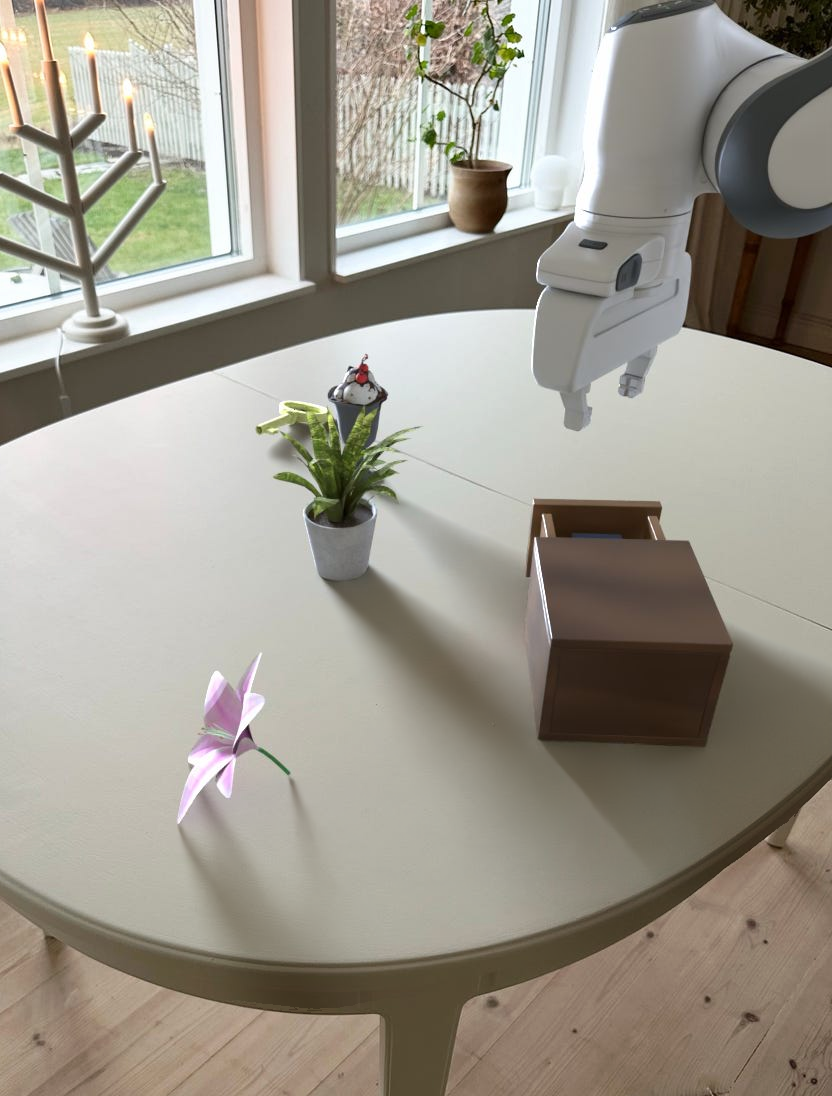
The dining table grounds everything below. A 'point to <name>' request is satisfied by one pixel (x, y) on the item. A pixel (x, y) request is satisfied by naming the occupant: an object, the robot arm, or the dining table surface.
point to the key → (291, 416)
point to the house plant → (342, 494)
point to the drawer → (593, 520)
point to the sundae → (357, 402)
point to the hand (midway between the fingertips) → (603, 410)
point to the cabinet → (623, 642)
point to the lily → (224, 735)
